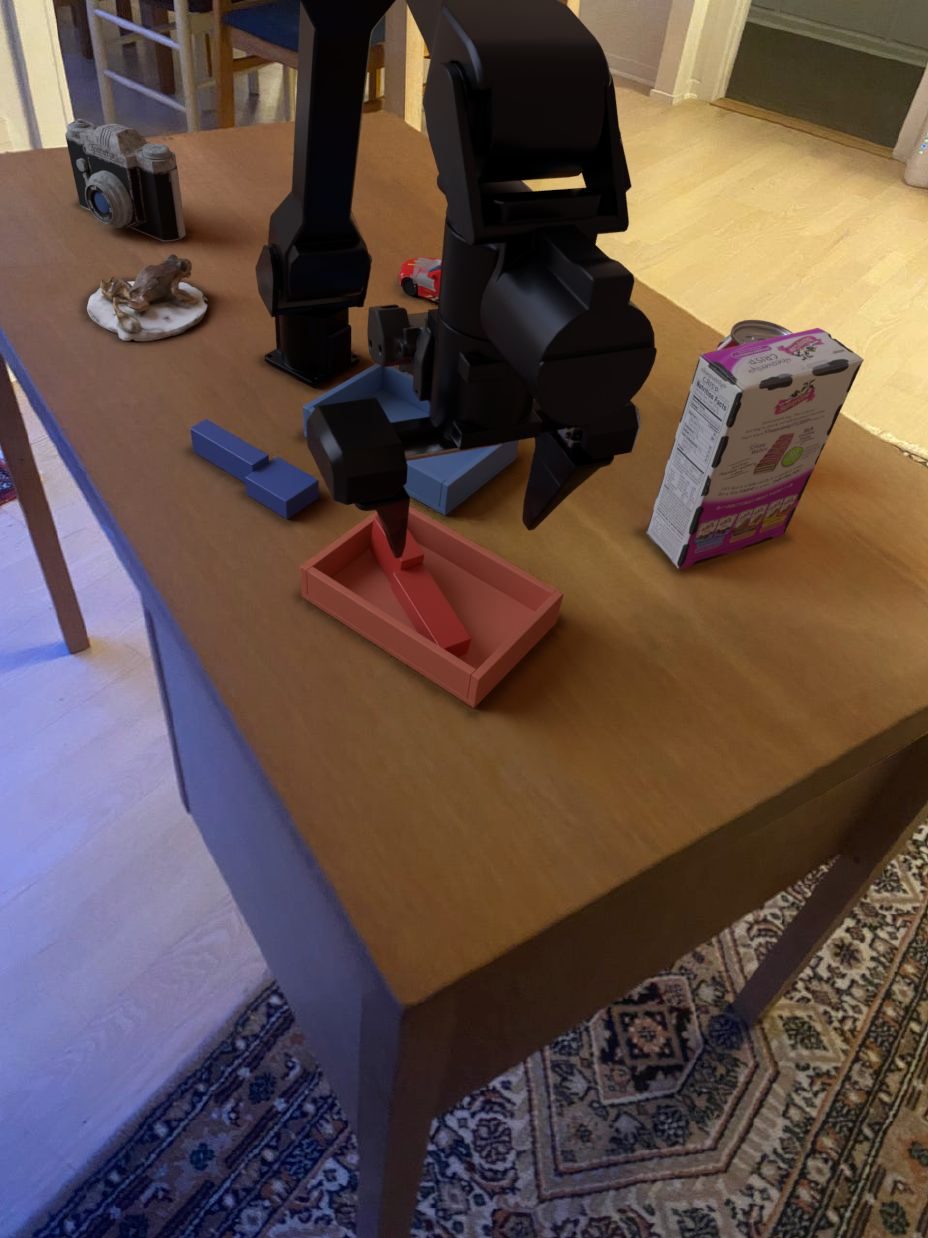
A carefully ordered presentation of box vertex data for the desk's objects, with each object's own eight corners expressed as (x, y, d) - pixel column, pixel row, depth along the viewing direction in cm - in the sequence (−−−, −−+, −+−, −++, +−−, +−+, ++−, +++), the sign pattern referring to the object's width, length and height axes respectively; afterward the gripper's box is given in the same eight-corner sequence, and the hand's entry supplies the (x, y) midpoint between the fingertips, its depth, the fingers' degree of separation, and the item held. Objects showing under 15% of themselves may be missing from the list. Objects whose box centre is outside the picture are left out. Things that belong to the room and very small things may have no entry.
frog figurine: (158, 266, 94) (152, 230, 91) (235, 311, 89) (231, 274, 87) (60, 301, 87) (51, 263, 85) (138, 351, 83) (130, 312, 80)
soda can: (758, 489, 78) (810, 366, 69) (680, 473, 78) (723, 349, 69) (756, 444, 82) (805, 324, 74) (683, 430, 83) (723, 308, 74)
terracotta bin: (301, 597, 64) (300, 566, 62) (393, 526, 70) (394, 496, 68) (473, 708, 58) (478, 679, 56) (556, 622, 64) (564, 593, 62)
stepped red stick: (474, 630, 59) (442, 642, 58) (465, 660, 62) (435, 672, 61) (396, 510, 64) (365, 519, 63) (391, 543, 67) (362, 552, 66)
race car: (388, 289, 96) (389, 252, 93) (415, 271, 99) (417, 235, 96) (496, 329, 92) (501, 292, 89) (520, 309, 95) (525, 273, 92)
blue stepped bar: (184, 456, 73) (180, 432, 71) (217, 437, 75) (214, 413, 73) (287, 519, 69) (285, 495, 67) (319, 497, 71) (318, 473, 69)
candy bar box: (745, 500, 76) (820, 323, 64) (784, 537, 74) (870, 359, 62) (639, 532, 72) (698, 349, 60) (676, 572, 69) (745, 388, 57)
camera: (51, 211, 100) (28, 114, 93) (98, 194, 104) (79, 99, 97) (149, 254, 96) (133, 155, 88) (194, 233, 100) (183, 137, 92)
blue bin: (303, 436, 76) (302, 406, 74) (380, 388, 83) (381, 359, 80) (445, 516, 71) (448, 486, 69) (516, 459, 77) (521, 430, 75)
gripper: (579, 230, 54) (538, 443, 65) (273, 257, 48) (287, 487, 59) (676, 323, 47) (612, 542, 59) (335, 368, 41) (337, 603, 53)
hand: (463, 539), depth 58 cm, fingers open, 9 cm apart
